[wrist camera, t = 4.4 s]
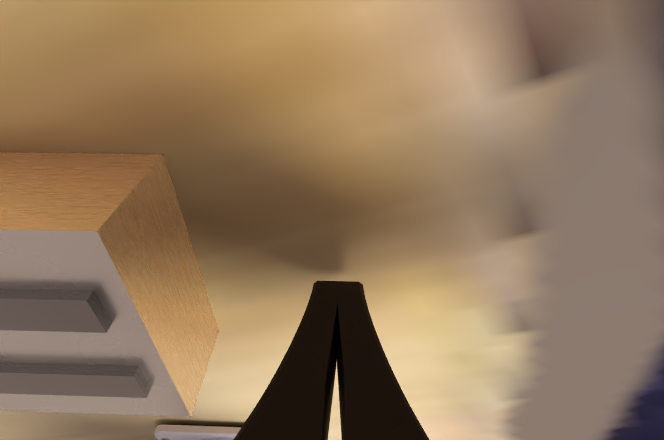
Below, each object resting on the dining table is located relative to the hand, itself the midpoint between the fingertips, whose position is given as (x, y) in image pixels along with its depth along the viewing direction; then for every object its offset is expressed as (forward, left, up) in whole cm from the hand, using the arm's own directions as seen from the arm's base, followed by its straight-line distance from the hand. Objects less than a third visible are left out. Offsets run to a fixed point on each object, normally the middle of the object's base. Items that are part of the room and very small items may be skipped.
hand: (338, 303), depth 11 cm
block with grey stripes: (0, +9, -2) cm, 9 cm away
